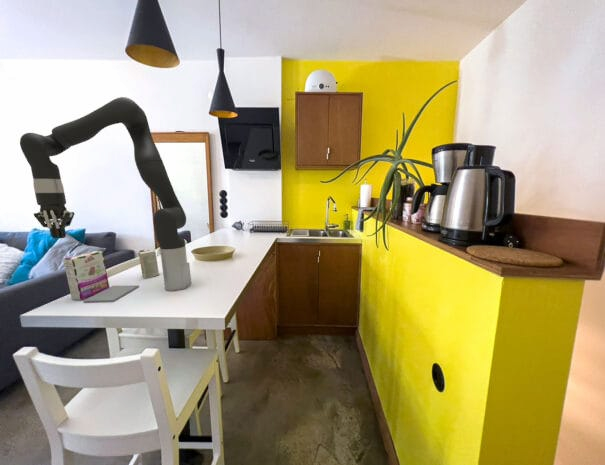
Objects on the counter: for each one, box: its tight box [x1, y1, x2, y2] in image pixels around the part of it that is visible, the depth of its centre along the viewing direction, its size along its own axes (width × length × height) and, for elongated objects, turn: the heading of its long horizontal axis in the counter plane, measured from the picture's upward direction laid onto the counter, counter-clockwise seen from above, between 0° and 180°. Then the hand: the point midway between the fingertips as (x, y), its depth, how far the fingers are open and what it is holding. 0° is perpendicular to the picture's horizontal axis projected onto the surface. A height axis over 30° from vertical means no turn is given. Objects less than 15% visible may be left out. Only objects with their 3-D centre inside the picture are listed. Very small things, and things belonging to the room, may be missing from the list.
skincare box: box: [138, 249, 160, 279], centre depth 113 cm, size 6×4×12 cm
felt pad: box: [82, 284, 140, 304], centre depth 94 cm, size 11×14×1 cm
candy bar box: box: [62, 250, 110, 301], centre depth 93 cm, size 11×5×16 cm, turn 169°
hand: (58, 237), depth 90 cm, fingers closed
